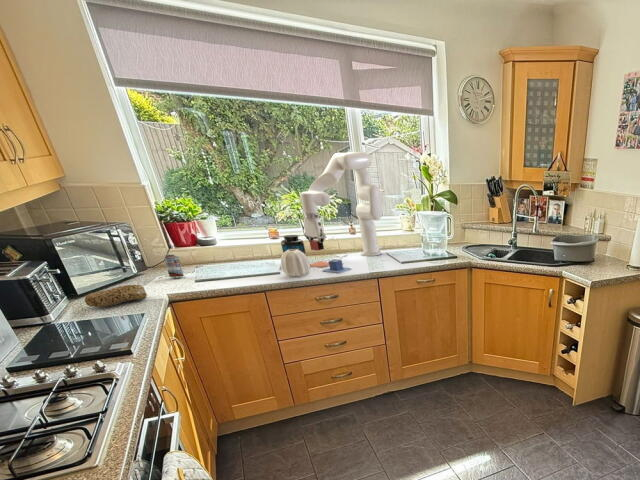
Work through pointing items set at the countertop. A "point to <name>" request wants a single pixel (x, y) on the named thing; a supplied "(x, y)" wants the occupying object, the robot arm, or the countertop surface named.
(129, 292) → the sponge
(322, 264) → the red mat
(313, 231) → the robot arm
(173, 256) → the beverage can
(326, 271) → the blue mat
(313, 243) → the red block
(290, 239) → the container
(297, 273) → the vase
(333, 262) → the blue block
